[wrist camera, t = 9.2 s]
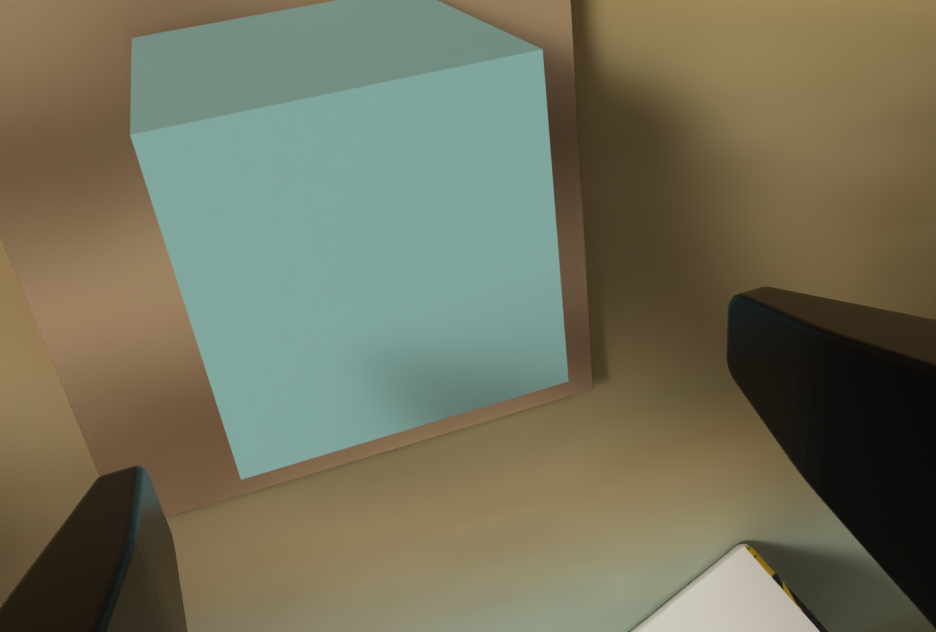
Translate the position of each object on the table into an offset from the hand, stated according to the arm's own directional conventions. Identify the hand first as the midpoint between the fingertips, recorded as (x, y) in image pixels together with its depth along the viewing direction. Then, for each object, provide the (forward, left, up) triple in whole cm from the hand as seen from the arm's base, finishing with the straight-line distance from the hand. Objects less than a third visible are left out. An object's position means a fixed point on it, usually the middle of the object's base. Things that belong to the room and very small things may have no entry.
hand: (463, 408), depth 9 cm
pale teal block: (0, 0, -10) cm, 10 cm away
